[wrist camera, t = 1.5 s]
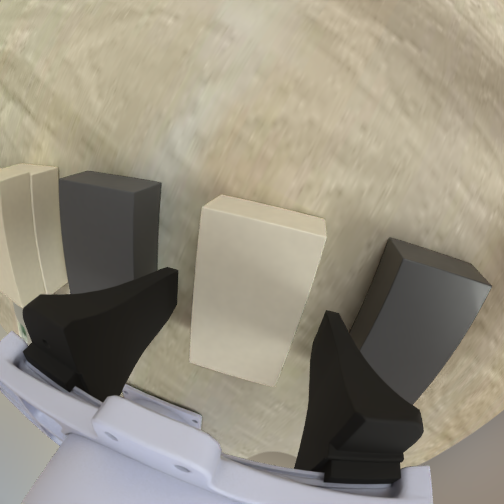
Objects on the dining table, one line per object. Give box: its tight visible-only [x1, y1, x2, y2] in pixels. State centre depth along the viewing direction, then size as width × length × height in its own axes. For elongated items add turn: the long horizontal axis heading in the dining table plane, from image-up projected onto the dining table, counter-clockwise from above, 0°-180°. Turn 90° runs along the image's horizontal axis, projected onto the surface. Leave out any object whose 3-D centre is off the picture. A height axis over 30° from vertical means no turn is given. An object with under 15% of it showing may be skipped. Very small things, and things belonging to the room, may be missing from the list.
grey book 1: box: [59, 171, 161, 294], centre depth 15 cm, size 9×6×2 cm, turn 169°
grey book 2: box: [349, 238, 492, 405], centre depth 13 cm, size 9×6×2 cm, turn 169°
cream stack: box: [0, 163, 68, 308], centre depth 14 cm, size 9×6×5 cm, turn 169°
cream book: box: [189, 195, 327, 387], centre depth 14 cm, size 9×5×2 cm, turn 169°
